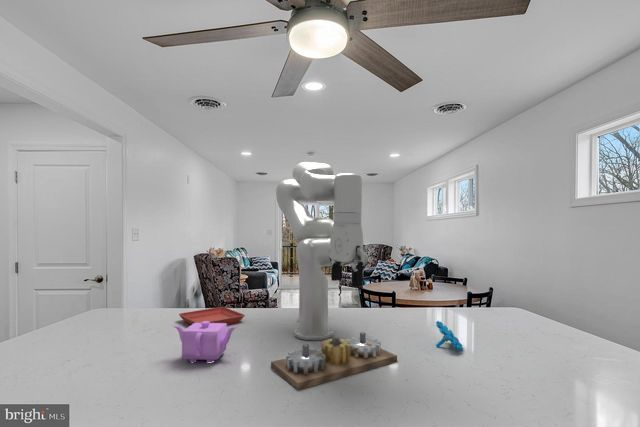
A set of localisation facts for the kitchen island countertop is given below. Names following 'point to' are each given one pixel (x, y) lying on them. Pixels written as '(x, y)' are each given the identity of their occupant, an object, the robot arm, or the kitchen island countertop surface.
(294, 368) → the gear
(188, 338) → the teapot
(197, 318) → the plant saucer
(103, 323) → the kitchen island countertop surface
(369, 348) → the gear
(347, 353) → the brass gear
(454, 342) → the gear
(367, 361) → the gear board
